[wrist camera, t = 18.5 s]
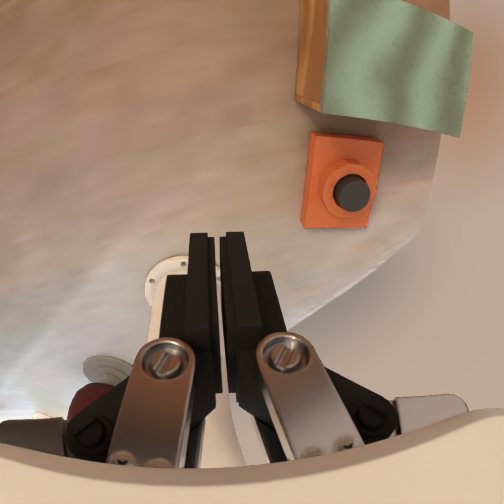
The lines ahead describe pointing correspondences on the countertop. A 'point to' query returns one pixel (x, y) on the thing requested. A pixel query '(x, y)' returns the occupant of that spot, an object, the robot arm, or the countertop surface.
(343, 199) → the button
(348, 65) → the green box lid
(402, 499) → the robot arm
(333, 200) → the button block
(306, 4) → the wooden box
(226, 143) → the countertop surface
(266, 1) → the countertop surface
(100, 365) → the mate gourd
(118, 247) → the countertop surface
